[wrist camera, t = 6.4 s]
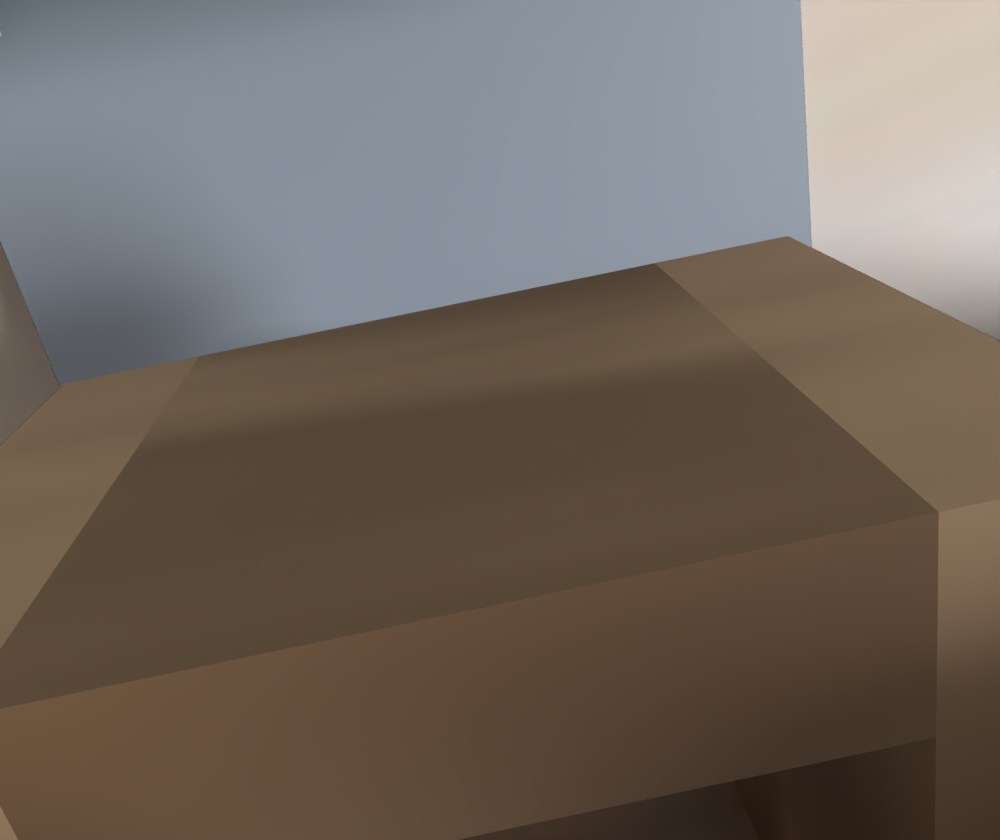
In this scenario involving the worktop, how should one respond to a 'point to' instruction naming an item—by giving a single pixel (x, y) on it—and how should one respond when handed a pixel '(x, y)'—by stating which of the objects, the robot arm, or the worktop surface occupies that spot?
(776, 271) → the sleeve
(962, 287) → the worktop surface
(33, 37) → the grey base plate
